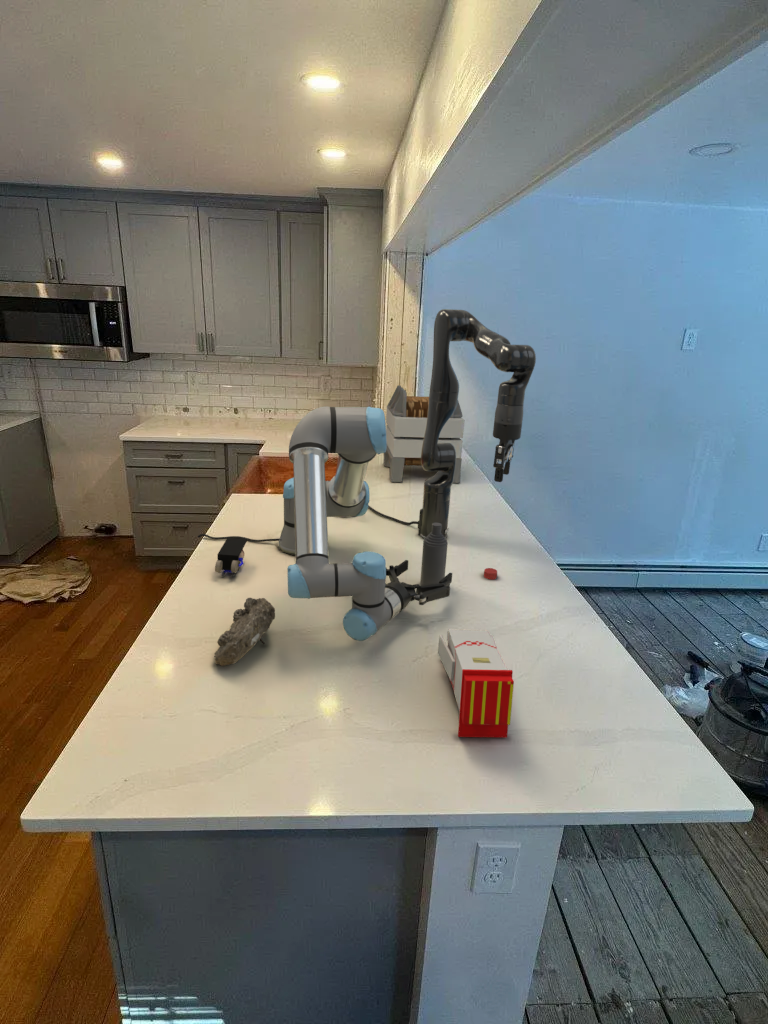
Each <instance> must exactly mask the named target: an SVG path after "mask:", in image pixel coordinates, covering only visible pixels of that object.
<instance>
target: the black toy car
mask: <svg viewBox="0 0 768 1024" xmlns="http://www.w3.org/2000/svg"><path fill="white" fill-rule="evenodd" d="M247 542H248V540H247V539H241V538H227V539H225V541H224V543H223V544H222V546H221V547H220V549H219V551H218V552H217V560H216V562H215V564H214V572H215V573H221V577H222V578H224V577H225V576H226V574H227V573H230V574H231V573H232V574H231V578H234V577H235V575H236V573H237V572H239V571H240V567H242V566H243V565H244V564H245V562H244V558H245V551H244V547H245V546H246V544H247Z"/></svg>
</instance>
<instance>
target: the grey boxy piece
mask: <svg viewBox="0 0 768 1024" xmlns="http://www.w3.org/2000/svg"><path fill="white" fill-rule="evenodd" d="M407 394H408V393H407V390H406V389H404V388H403V387H402V385H399V384H398V385H397V386H396V388H395V390H394V392H393V394H392V395H391V398H390V400H389V402H388V404H387V405H386V413H385V414H386V415H385V423H386V440H387V448H386V452H385V453H383V466H384V467H388V468H389V475H388V476H389V477H388V478H389V480H390V482H391V483H402V482H403V475H404V469H405V466H406V467H407V466H411V467H412V466H413V467H415V466H416V467H417V466H418V467H422V464H421V451H422V445H423V440H424V435H425V429H426V424H427V415H428V405H429V396H415V395H414V396H413V395H412V396H411V395H407ZM464 429H465V419H464V418H463V411H462V408H461V405H460V402H459V401H458V402H457V407H456V409H455V411H454V412H453V414H452V415H451V417H450V418H449V419H448V421H447V422H446V424H445V425H444V426H443V428H442V430H441V432H440V435H439V438H438V443H451V444H452V445H453V446H454V448H455V451H456V463H455V470H454V477H453V483H452V484H455V483H456V484H459V483H461V472H462V461H463V460H462V453H463V442H464V441H463V440H462V439H463V438H464V431H465V430H464Z"/></svg>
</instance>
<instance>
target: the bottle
mask: <svg viewBox="0 0 768 1024" xmlns="http://www.w3.org/2000/svg"><path fill="white" fill-rule="evenodd" d="M441 527H442V524H441V523H432V532H431V533H430V534H429V535H428V536H427V537H426V538H425V539H424V538H423V542H422V556H421V566H420V567H421V568H420V584H419V585H420V586H421V585H430V584H438V583H439V581H440V580H441V579H443V578H444V577H445V576H446V567H447V557H448V556H447V554H448V546H449V543H448V539H447V538H446V539H445V537H444V536H443V535H442V533H441Z"/></svg>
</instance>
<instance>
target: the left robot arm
mask: <svg viewBox="0 0 768 1024" xmlns="http://www.w3.org/2000/svg"><path fill="white" fill-rule="evenodd" d="M386 426H387V423H386V415H385V411H384V410H383V409H382V408H380V407H371V406H320V407H317V408H314V409H312V410H311V411H309V412H307V413H306V414H305V415H304V416H302V418H301V419H300V420H299V422H298V423H297V425H296V426H295V428H294V429H293V432H292V434H291V437H290V440H289V444H288V460H289V461H290V463H291V464H292V465H293V466H292V467H293V471H292V472H293V477H291V478H289V479H287V480H286V481H285V482H284V484H283V493H282V498H283V527H282V529H281V533H280V536H279V538H264V539H253V538H249V537H245V536H239V535H230V536H211V535H209V534H206V533H200V534H198V535H197V538H202V537H206V538H208V539H210V540H226V539H227V538H241V539H247V542H248V541H249V542H254V543H263V542H278V549H279V550H280V552H282V553H285V554H287V555H291V556H295V562H294V563H293V564H289V565H288V566H287V567H286V568H287V569H286V570H287V571H286V572H287V573H286V574H287V575H286V576H287V595H288V596H289V597H290V598H291V599H308V600H310V599H320V598H321V599H323V598H346V597H349V598H350V597H351V609H348V611H346V613H345V614H344V616H343V618H342V626H343V629H344V631H345V633H346V634H347V635H348V637H350V638H351V639H352V640H354V641H360V642H361V641H362V642H363V641H365V640H367V639H370V638H371V637H372V636H374V635H375V634H377V632H378V631H380V629H382V628H383V627H384V626H385V625H386V624H388V623H389V622H390V621H392V619H394V618H395V617H396V616H397V615H398V614H400V613H401V612H403V610H405V609H406V608H407V607H408V605H409V604H410V602H413V601H418V605H420V606H424V605H425V604H427V603H430V602H434V601H437V600H441V599H444V598H447V597H450V593H451V583H452V581H453V572H449V573H447V574H445V577H444V578H443V579H441V580H440V581H439V583H438V584H430V585H421V586H420V584H419V583H416V584H410V583H406V582H404V581H400V579H399V578H398V577H400V575H402V574H403V573H405V572H406V571H408V570H409V560H408V559H405V560H404V561H402V562H401V563H399V564H397V565H389V567H388V568H387V565H386V564H387V560H386V558H385V556H383V555H382V554H381V553H379V552H376V551H370V550H369V551H368V550H366V551H362V552H358V553H356V554H355V555H354V556H353V558H352V562H340V563H339V562H338V563H334V562H333V563H330V555H329V535H328V533H329V532H328V518H350V517H351V518H356V517H363V516H364V515H365V514H366V513H367V512H368V509H369V508H368V505H369V503H370V488H369V484H368V482H367V481H366V480H365V477H366V474H367V471H368V466H369V463H370V462H371V461H373V459H374V458H375V457H376V456H377V455H381V454H384V453H385V452H386V448H387V440H386ZM329 454H337V455H338V458H337V464H336V471H335V475H334V476H333V477H332V478H331V479H330V480H326V466H325V465H326V462H327V461H328V460H329ZM387 577H388V578H389V581H390V582H388V583H387V582H386V579H387Z"/></svg>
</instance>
